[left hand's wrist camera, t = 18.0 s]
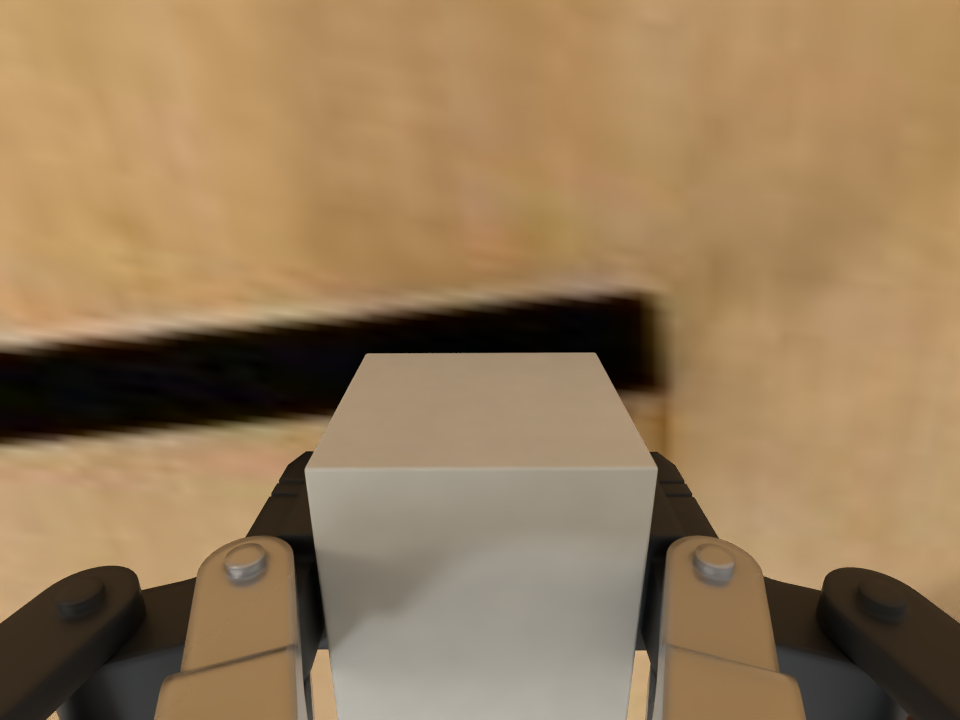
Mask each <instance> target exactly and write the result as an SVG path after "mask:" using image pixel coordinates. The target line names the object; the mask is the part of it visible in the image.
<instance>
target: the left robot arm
mask: <svg viewBox="0 0 960 720" xmlns="http://www.w3.org/2000/svg"><path fill="white" fill-rule="evenodd" d="M313 452H314V451H306V452H305V453H303V454H302V455H301V456H299V457H298V458H297V459H295V460H294V461H293V462H291V463H290V464H289V465H288V466H287V468H286V469H285V471H284V473H283V475H282V476H281V478H280V480H279V483H277V485H276V486H275V488H274V490H273V492H272V493H271V494H272V495H271V497H269V498H268V500H267V502H266V503H265V505H264V507H263V509H262V510H261V512H260V514H259V515H258V517H257V519H256V520H255V522H254V524H253V525H252V527H251V529H250V531H249V532H248V534H247V536H246V537H245V538H242V539H239V540H236V541H233V542H231V543H228V544H226V545H224V546H222V547H221V548H219V549H217V550H216V551H215V552H213V553H212V554H211V555H210V556H209V557H207V558H206V560H205V561H204V562H203V563H202V565H201V566H200V568H199V570H198V573H197V577H195V578H192V579H188V580H185V581H181V582H176V583H172V584H167V585H163V586H158V587H154V588H149V589H145V590H141V588H140V584H139V580H138V577H137V575H136V574H135V573H134V572H133V571H132V570H130V569H128V568H125V567H121V566H102V567H96V568H91V569H87V570H84V571H81V572H78V573H76V574H73V575H70V576H68V577H66V578H64V579H62V580H60V581H58V582H57V583H55V584H53V585H52V586H50V587H49V588H47V589H46V590H44V591H43V592H42V593H40V594H39V595H38V596H36V597H35V598H34V599H32V600H31V601H30V602H28V603H27V604H26V605H24V606H23V607H22V608H20V609H19V610H18V611H16V612H15V613H14V614H12V615H11V616H10V617H8V618H7V619H6V620H4V621H3V622H2V623H0V720H46V719H47V718H48V717H49V716H50V715H51V714H52V713H53V712H54V711H57V714H58V717H59V719H60V720H315V715H314V701H313V687H312V678H311V672H310V671H311V668H312V665H313V662H314V659H315V656H316V653H317V650H318V649H328V642H327V635H326V627H325V620H324V612H323V605H322V597H321V590H320V582H319V575H318V567H317V560H316V552H315V545H314V537H313V530H312V523H311V515H310V508H309V500H308V493H307V485H306V478H305V467H306V466H307V464H308V462H309V460H310V458H311V456H312V454H313ZM649 453H650V454H651V456H652V458H653V460H654V462H655V464H656V465H657V468H658V472H657V480H656V488H655V496H654V504H653V512H652V520H651V528H650V536H649V544H648V552H647V560H646V568H645V576H644V584H643V592H642V600H641V608H640V616H639V624H638V632H637V640H636V648H635V650H647V653H648V656H649V659H650V663H651V665H650V672H649V679H648V688H647V701H646V715H645V720H907V717H908V715H910V716H911V717H912V718H913V719H914V720H960V623H958V622H957V621H956V620H954V619H953V618H952V617H950V616H949V615H948V614H946V613H945V612H944V611H942V610H941V609H940V608H938V607H937V606H936V605H934V604H933V603H932V602H930V601H929V600H928V599H926V598H925V597H924V596H922V595H921V594H920V593H918V592H917V591H915V590H914V589H912V588H911V587H910V586H908V585H906V584H904V583H903V582H901V581H899V580H897V579H894V578H892V577H890V576H887V575H885V574H882V573H879V572H876V571H872V570H868V569H863V568H839V569H836V570H833V571H832V572H830V573H828V575H827V576H826V577H825V579H824V582H823V586H822V590H821V591H820V590H815V589H811V588H806V587H802V586H797V585H793V584H788V583H784V582H780V581H776V580H773V579H770V578H767V577H764V576H763V573H762V570H761V568H760V566H759V565H758V563H757V562H756V561H755V560H754V558H753V557H751V556H750V555H749V554H748V553H747V552H745V551H744V550H743V549H741V548H739V547H738V546H736V545H734V544H732V543H729V542H727V541H724V540H721V539H719V538H718V536H717V535H716V533H715V531H714V530H713V528H712V526H711V525H710V523H709V521H708V520H707V518H706V516H705V515H704V513H703V511H702V509H701V508H700V506H699V504H698V503H697V501H696V499H695V498H694V497H692V493H691V491H690V489H689V488H688V486H687V484H685V483H684V479H683V478H682V476H681V474H680V473H679V471H678V469H677V468H676V466H675V465H674V464H673V463H671V462H670V461H669V460H667V459H666V458H665V457H663V456H662V455H660V454H659V453H658V452H649Z"/></svg>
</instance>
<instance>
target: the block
mask: <svg viewBox="0 0 960 720" xmlns="http://www.w3.org/2000/svg"><path fill="white" fill-rule="evenodd" d="M657 472H658V468H657V465H656V464H655V462H654V460H653V458H652V456H651V454H650V453H649V451H648V449H647V447H646V445H645V443H644V441H643V440H642V438H641V436H640V434H639V432H638V430H637V429H636V427H635V425H634V423H633V421H632V419H631V417H630V416H629V414H628V412H627V410H626V408H625V406H624V405H623V403H622V401H621V399H620V397H619V395H618V393H617V392H616V390H615V388H614V386H613V384H612V382H611V381H610V379H609V377H608V375H607V373H606V371H605V369H604V368H603V366H602V364H601V362H600V360H599V358H598V357H597V355H596V353H389V354H366V355H365V357H364V359H363V361H362V363H361V364H360V366H359V368H358V370H357V372H356V374H355V376H354V378H353V379H352V381H351V383H350V385H349V387H348V389H347V391H346V393H345V394H344V396H343V398H342V400H341V402H340V404H339V406H338V408H337V409H336V411H335V413H334V415H333V417H332V419H331V421H330V422H329V424H328V426H327V428H326V430H325V432H324V434H323V436H322V437H321V439H320V441H319V443H318V445H317V447H316V449H315V451H314V452H313V454H312V456H311V458H310V460H309V462H308V464H307V466H306V467H305V478H306V485H307V493H308V500H309V508H310V515H311V523H312V530H313V537H314V545H315V552H316V560H317V567H318V575H319V582H320V590H321V597H322V605H323V612H324V620H325V627H326V635H327V642H328V649H329V657H330V664H331V672H332V679H333V687H334V694H335V702H336V709H337V717H338V720H627V712H628V704H629V696H630V688H631V680H632V672H633V664H634V656H635V648H636V640H637V632H638V624H639V616H640V608H641V600H642V592H643V584H644V576H645V568H646V560H647V552H648V544H649V536H650V528H651V520H652V512H653V504H654V496H655V488H656V480H657Z"/></svg>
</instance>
